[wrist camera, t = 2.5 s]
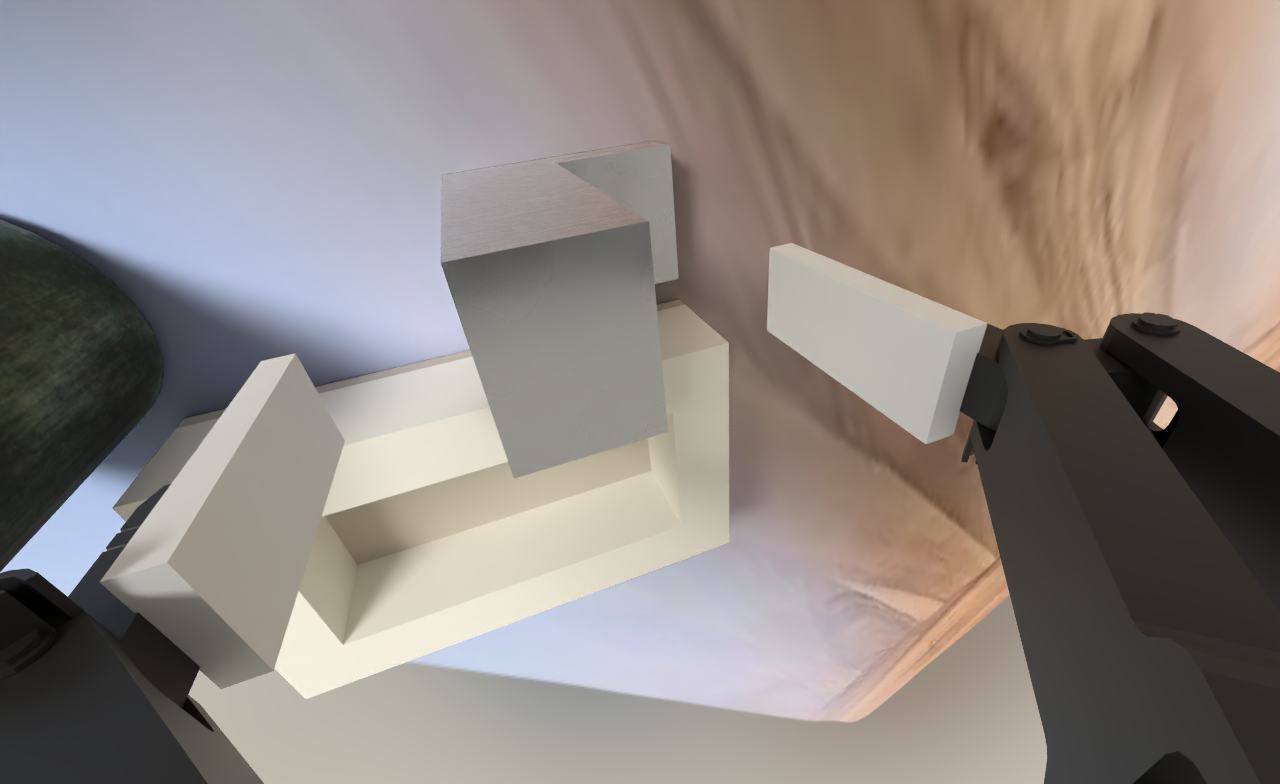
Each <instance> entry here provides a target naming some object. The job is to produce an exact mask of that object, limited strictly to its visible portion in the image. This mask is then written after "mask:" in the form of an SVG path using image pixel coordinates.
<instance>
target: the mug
mask: <svg viewBox="0 0 1280 784" xmlns="http://www.w3.org/2000/svg"><path fill="white" fill-rule="evenodd" d="M162 378H163V364H162V356H161V353H160V349H159V346H158V342H157V340H156V338H155V336H154V334H153V332H152V330H151V328H150V326H149V324H148V322H147V321H146V320H145V318H144V317H143V316H142V314H141V313H140V312H139V310H138V309H137V308H136V306H135V305H134V304H133V302H132V301H131V300H130V299H129V298H128V297H127V296H126V295H125V294H124V293H123V292H122V291H121V290H120V289H119V288H118V287H117V286H116V285H115V284H114V283H113V282H112V281H110V280H109V279H108V278H107V277H105V276H104V275H103V274H101V273H100V272H99V271H98V270H96V269H95V268H94V267H93V266H91V265H90V264H88V263H86V262H85V261H83V260H82V259H80V258H79V257H77V256H75V255H74V254H72V253H71V252H69V251H68V250H66V249H64V248H62V247H60V246H58V245H56V244H54V243H52V242H50V241H48V240H46V239H44V238H43V237H41V236H39V235H37V234H35V233H33V232H31V231H28V230H26V229H23V228H21V227H18V226H16V225H13V224H11V223H8V222H6V221H3V220H1V219H0V572H1V571H2V569H3V568H4V567H5V566H6V565H7V564H8V563H9V562H10V561H11V560H12V559H13V558H14V556H15V555H16V554H17V553H18V552H19V551H20V550H21V549H22V548H23V547H24V546H25V545H26V543H27V542H28V541H29V540H30V539H31V538H32V537H33V536H34V535H35V534H36V533H37V532H38V531H39V529H40V528H41V527H42V526H43V525H44V524H45V523H46V522H47V521H48V520H49V519H50V518H51V516H52V515H53V514H54V513H55V512H56V511H57V510H58V509H59V508H60V507H61V506H62V505H63V503H64V502H65V501H66V500H67V499H68V498H69V497H70V496H71V495H72V494H73V493H74V492H75V490H76V489H77V488H78V487H79V486H80V485H81V484H82V483H83V482H84V481H85V480H86V479H87V477H88V476H89V475H90V474H91V473H92V472H93V471H94V470H95V469H96V468H97V467H98V466H99V464H100V463H101V462H102V461H103V460H104V459H105V458H106V457H107V456H108V455H109V454H110V453H111V452H112V450H113V449H114V448H115V447H116V446H117V445H118V444H119V443H120V442H121V441H122V440H123V439H124V437H125V436H126V435H127V434H128V433H129V432H130V431H131V430H132V429H133V428H134V427H135V426H136V424H137V423H138V422H139V421H140V420H141V419H142V418H143V417H144V416H145V414H146V413H147V412H148V411H149V410H150V408H151V407H152V406H153V404H154V402H155V400H156V398H157V396H158V394H159V392H160V389H161V384H162Z"/></svg>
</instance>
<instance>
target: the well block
mask: <svg viewBox="0 0 1280 784" xmlns="http://www.w3.org/2000/svg"><path fill="white" fill-rule="evenodd" d="M657 315H658V326H659V337H660V348H661V359H662V370H663V381H664V392H665V403H666V414H667V425H668V432H666V433H663V434H660V435H656V436H653V437H650V438H647V439H643V440H640V441H637V442H633V443H630V444H627V445H624V446H620V447H617V448H614V449H610V450H607V451H604V452H600V453H597V454H594V455H591V456H587V457H584V458H581V459H577V460H574V461H571V462H568V463H564V464H561V465H558V466H554V467H551V468H548V469H545V470H541V471H538V472H535V473H531V474H528V475H525V476H522V477H518V478H515V479H514V477H513V474H512V471H511V468H510V466H509V463H508V460H507V457H506V454H505V451H504V448H503V445H502V442H501V439H500V436H499V433H498V430H497V427H496V424H495V421H494V418H493V415H492V412H491V409H490V406H489V403H488V401H487V398H486V395H485V392H484V389H483V386H482V383H481V380H480V377H479V374H478V371H477V368H476V365H475V362H474V359H473V356H472V353H471V350H467V351H463V352H458V353H454V354H450V355H446V356H442V357H438V358H434V359H429V360H425V361H421V362H417V363H413V364H409V365H404V366H400V367H396V368H392V369H388V370H384V371H379V372H375V373H371V374H367V375H363V376H359V377H355V378H350V379H346V380H342V381H338V382H334V383H330V384H325V385H321V386H317V387H315V388H316V390H317V392H318V394H319V396H320V397H321V399H322V401H323V403H324V404H325V406H326V408H327V410H328V412H329V413H330V415H331V417H332V419H333V421H334V422H335V424H336V426H337V428H338V429H339V431H340V433H341V435H342V437H343V438H344V440H345V443H344V446H343V449H342V452H341V456H340V459H339V462H338V465H337V468H336V472H335V475H334V478H333V481H332V485H331V488H330V491H329V494H328V497H327V501H326V504H325V507H324V510H323V514H322V517H321V520H320V523H319V526H318V530H317V533H316V536H315V539H314V543H313V546H312V549H311V552H310V555H309V559H308V562H307V565H306V568H305V572H304V575H303V578H302V581H301V584H300V588H299V591H298V594H297V597H296V601H295V604H294V607H293V610H292V613H291V617H290V620H289V623H288V626H287V630H286V633H285V636H284V639H283V642H282V646H281V649H280V652H279V655H278V659H277V662H276V665H275V669H276V670H277V671H278V672H279V673H280V674H281V675H282V676H283V677H284V678H285V679H286V680H287V681H288V682H289V683H290V684H291V685H292V686H293V687H294V688H295V689H296V690H297V691H298V692H299V693H300V694H301V695H302V696H303V697H304V698H305V699H308V698H310V697H313V696H316V695H318V694H321V693H324V692H327V691H329V690H332V689H335V688H337V687H340V686H343V685H346V684H348V683H351V682H354V681H356V680H359V679H362V678H365V677H367V676H370V675H372V674H375V673H378V672H381V671H383V670H386V669H388V668H392V667H394V666H397V665H400V664H402V663H405V662H408V661H411V660H413V659H416V658H419V657H421V656H424V655H427V654H430V653H432V652H435V651H438V650H440V649H443V648H446V647H448V646H451V645H454V644H457V643H459V642H462V641H465V640H467V639H470V638H473V637H476V636H478V635H481V634H484V633H486V632H489V631H492V630H495V629H497V628H500V627H503V626H505V625H508V624H511V623H513V622H516V621H519V620H522V619H524V618H527V617H530V616H532V615H535V614H538V613H541V612H543V611H546V610H549V609H551V608H554V607H557V606H560V605H562V604H565V603H568V602H570V601H573V600H576V599H578V598H581V597H584V596H587V595H589V594H592V593H595V592H597V591H600V590H603V589H606V588H608V587H611V586H614V585H616V584H619V583H622V582H625V581H627V580H630V579H633V578H635V577H638V576H641V575H644V574H646V573H649V572H652V571H654V570H657V569H660V568H662V567H665V566H668V565H671V564H673V563H676V562H679V561H681V560H684V559H687V558H690V557H692V556H695V555H698V554H700V553H703V552H706V551H709V550H711V549H714V548H717V547H719V546H722V545H725V544H727V543H729V342H728V341H726V340H725V339H724V338H723V337H722V336H721V335H720V334H718V333H717V332H716V331H715V330H714V329H713V328H712V327H710V326H709V325H708V324H707V323H706V322H705V321H703V320H702V319H701V318H700V317H699V316H698V315H697V314H695V313H694V312H693V311H692V310H691V309H690V308H689V307H687V306H686V305H685V304H684V303H683V302H682V301H681V300H675V301H671V302H666V303H662V304H658V305H657ZM225 410H226V409H221V410H217V411H213V412H209V413H205V414H201V415H197V416H192V417H188V418H184V419H183V420H182V421H181V423H180V424H179V425H178V426H177V428H176V429H175V430H174V431H173V433H172V434H171V435H170V436H169V438H168V439H167V440H166V441H165V443H164V444H163V445H162V446H161V448H160V449H159V450H158V451H157V453H156V454H155V455H154V456H153V458H152V459H151V460H150V461H149V463H148V464H147V465H146V466H145V468H144V469H143V470H142V472H141V473H140V474H139V475H138V477H137V478H136V479H135V480H134V482H133V483H132V484H131V485H130V487H129V488H128V489H127V490H126V492H125V493H124V494H123V495H122V497H121V498H120V499H119V500H118V502H117V503H116V504H115V505H114V507H113V509H114V510H115V511H116V512H117V513H118V514H119V515H120V516H121V517H122V518H123V519H124V520H125V521H127V520H128V519H129V517H130V516H131V515H132V514H133V512H134V511H135V510H136V508H137V507H138V506H140V505H141V504H142V503H143V502H145V501H146V500H147V499H148V498H150V497H151V496H152V495H153V494H154V493H156V492H157V491H158V490H159V489H161V488H162V487H163V486H164V485H168V484H172V482H173V481H174V480H175V478H176V477H177V475H178V474H179V473H180V471H181V470H182V469H183V467H184V466H185V465H186V463H187V462H188V460H189V459H190V458H191V456H192V455H193V454H194V452H195V451H196V449H197V448H198V447H199V445H200V444H201V443H202V441H203V440H204V439H205V437H206V436H207V434H208V433H209V432H210V430H211V429H212V428H213V426H214V425H215V423H216V422H217V421H218V419H219V418H220V417H221V415H222V414H223V413H224V411H225Z"/></svg>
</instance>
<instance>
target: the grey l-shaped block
mask: <svg viewBox="0 0 1280 784" xmlns="http://www.w3.org/2000/svg"><path fill="white" fill-rule="evenodd" d="M441 265H442V268H443V271H444V274H445V276H446V279H447V282H448V285H449V288H450V291H451V294H452V297H453V300H454V303H455V306H456V309H457V312H458V315H459V318H460V321H461V324H462V327H463V330H464V333H465V336H466V338H467V341H468V344H469V347H470V350H471V353H472V356H473V359H474V362H475V365H476V368H477V371H478V374H479V377H480V380H481V383H482V386H483V389H484V392H485V395H486V398H487V401H488V403H489V406H490V409H491V412H492V415H493V418H494V421H495V424H496V427H497V430H498V433H499V436H500V439H501V442H502V445H503V448H504V451H505V454H506V457H507V460H508V463H509V466H510V468H511V471H512V474H513V477H514V479H515V478H518V477H522V476H525V475H528V474H531V473H535V472H538V471H541V470H545V469H548V468H551V467H554V466H558V465H561V464H564V463H568V462H571V461H574V460H577V459H581V458H584V457H587V456H591V455H594V454H597V453H600V452H604V451H607V450H610V449H614V448H617V447H620V446H624V445H627V444H630V443H633V442H637V441H640V440H643V439H647V438H650V437H653V436H656V435H660V434H663V433H666V432H668V425H667V414H666V403H665V392H664V381H663V370H662V359H661V348H660V337H659V326H658V315H657V304H656V293H655V284H658V283H662V282H667V281H671V280H675V279H679V277H678V261H677V244H676V228H675V212H674V196H673V180H672V163H671V147H670V144H666V143H661V142H657V141H650V142H644V143H638V144H631V145H625V146H619V147H613V148H606V149H600V150H594V151H588V152H581V153H575V154H569V155H563V156H557V157H550V158H544V159H538V160H532V161H525V162H519V163H513V164H507V165H501V166H494V167H488V168H482V169H476V170H469V171H463V172H457V173H451V174H445V175H442V201H441Z"/></svg>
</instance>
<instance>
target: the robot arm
mask: <svg viewBox="0 0 1280 784" xmlns="http://www.w3.org/2000/svg"><path fill="white" fill-rule="evenodd" d="M767 331H769V332H770V333H771V334H773V335H774V336H776V337H777V338H778V339H780V340H781V341H783V342H784V343H785V344H787V345H788V346H789V347H791V348H792V349H794V350H795V351H796V352H798V353H799V354H801V355H802V356H803V357H805V358H806V359H808V360H809V361H810V362H812V363H813V364H814V365H816V366H817V367H819V368H820V369H821V370H823V371H824V372H826V373H827V374H828V375H830V376H831V377H833V378H834V379H835V380H837V381H838V382H840V383H841V384H842V385H844V386H845V387H846V388H848V389H849V390H851V391H852V392H853V393H855V394H856V395H858V396H859V397H860V398H862V399H863V400H865V401H866V402H867V403H869V404H870V405H872V406H873V407H874V408H876V409H877V410H878V411H880V412H881V413H883V414H884V415H885V416H887V417H888V418H890V419H891V420H892V421H894V422H895V423H897V424H898V425H899V426H901V427H902V428H904V429H905V430H906V431H908V432H909V433H910V434H912V435H913V436H915V437H916V438H917V439H919V440H920V441H922V442H923V443H924V444H928V443H931V442H934V441H937V440H940V439H943V438H946V437H949V436H952V435H954V431H955V428H956V425H957V422H958V418H959V415H960V412H962V413H964V414H966V415H967V416H969V417H971V418H972V419H974V422H973V425H972V428H971V431H970V434H969V437H968V440H967V443H966V446H965V449H964V452H963V455H962V461H961V462H968V459H969V456H970V455H972V454H974V453H975V457H976V464H977V465H978V469H979V473H980V477H981V481H982V485H983V489H984V493H985V497H986V501H987V505H988V509H989V513H990V517H991V521H992V525H993V529H994V533H995V537H996V541H997V545H998V549H999V553H1000V557H1001V561H1002V565H1003V569H1004V573H1005V577H1006V581H1007V585H1008V589H1009V593H1010V597H1011V601H1012V604H1013V608H1014V613H1015V617H1016V621H1017V625H1018V629H1019V633H1020V637H1021V641H1022V645H1023V649H1024V653H1025V657H1026V661H1027V665H1028V669H1029V673H1030V677H1031V681H1032V685H1033V689H1034V693H1035V697H1036V701H1037V705H1038V709H1039V713H1040V717H1041V721H1042V725H1043V729H1044V733H1045V738H1046V744H1047V765H1046V773H1045V780H1044V784H1280V373H1279V372H1277V371H1276V370H1274V369H1272V368H1270V367H1268V366H1266V365H1265V364H1263V363H1261V362H1259V361H1257V360H1255V359H1254V358H1252V357H1250V356H1248V355H1246V354H1244V353H1243V352H1241V351H1239V350H1237V349H1235V348H1233V347H1232V346H1230V345H1228V344H1226V343H1224V342H1222V341H1221V340H1219V339H1217V338H1215V337H1213V336H1211V335H1210V334H1208V333H1206V332H1204V331H1202V330H1200V329H1199V328H1197V327H1195V326H1193V325H1190V324H1188V323H1185V322H1183V321H1180V320H1177V319H1173V318H1171V317H1169V316H1167V315H1162V314H1155V313H1143V314H1133V313H1131V314H1123V315H1118V316H1116V317H1114V318H1112V319H1111V321H1110V323H1109V326H1108V328H1107V330H1106V332H1105V334H1104V337H1103V338H1100V339H1088V340H1083V339H1082V338H1081V337H1080V336H1078V335H1077V334H1076V333H1074V332H1072V331H1070V330H1066V329H1064V328H1060V327H1056V326H1052V325H1046V324H1037V323H1020V324H1015V325H1011V326H1009V327H1007V328H1006V329H1004V330H1002V329H999V328H997V327H994V326H992V325H990V324H988V323H985V322H983V321H980V320H978V319H976V318H973V317H971V316H968V315H966V314H963V313H961V312H959V311H956V310H954V309H951V308H949V307H946V306H944V305H942V304H939V303H937V302H934V301H932V300H929V299H927V298H925V297H922V296H920V295H917V294H915V293H912V292H910V291H908V290H905V289H903V288H900V287H898V286H895V285H893V284H890V283H888V282H886V281H883V280H881V279H878V278H876V277H873V276H871V275H869V274H866V273H864V272H861V271H859V270H856V269H854V268H852V267H849V266H847V265H844V264H842V263H839V262H837V261H835V260H832V259H830V258H827V257H825V256H822V255H820V254H817V253H815V252H813V251H810V250H808V249H805V248H803V247H800V246H798V245H796V244H793V243H790V244H785V245H781V246H776V247H772V248H770V258H769V285H768V312H767ZM1167 396H1169V397H1171V398H1172V400H1173V401H1174V402H1175V403H1176V405H1177V407H1178V410H1177V412H1176V414H1175V415H1174V417H1173V419H1172V420H1171V422H1170V424H1169V425H1168V426H1167V427H1166V428H1165V429H1162V428H1160V427H1159V426H1158V425H1156V424H1155V423H1154V422H1153V420H1154V418H1155V417H1156V415H1157V413H1158V411H1159V410H1160V408H1161V406H1162V405H1163V403H1164V401H1165V399H1166V398H1167ZM344 443H345V440H344V438H343V437H342V435H341V433H340V431H339V429H338V428H337V426H336V424H335V422H334V421H333V419H332V417H331V415H330V413H329V412H328V410H327V408H326V406H325V404H324V403H323V401H322V399H321V397H320V396H319V394H318V392H317V390H316V388H315V387H314V385H313V383H312V381H311V379H310V378H309V376H308V374H307V372H306V371H305V369H304V367H303V365H302V363H301V362H300V360H299V358H298V356H297V354H296V353H295V354H290V355H286V356H281V357H277V358H272V359H268V360H263V361H261V362H260V363H259V365H258V366H257V367H256V369H255V370H254V371H253V373H252V374H251V376H250V377H249V378H248V380H247V381H246V382H245V384H244V385H243V387H242V388H241V389H240V391H239V392H238V393H237V395H236V396H235V397H234V399H233V400H232V402H231V403H230V404H229V406H228V407H227V408H226V410H225V411H224V413H223V414H222V415H221V417H220V418H219V419H218V421H217V422H216V423H215V425H214V426H213V428H212V429H211V430H210V432H209V433H208V434H207V436H206V437H205V439H204V440H203V441H202V443H201V444H200V445H199V447H198V448H197V449H196V451H195V452H194V454H193V455H192V456H191V458H190V459H189V460H188V462H187V463H186V465H185V466H184V467H183V469H182V470H181V471H180V473H179V474H178V475H177V477H176V478H175V480H174V481H173V482H172V484H168V485H164V486H163V487H162V488H161V489H159V490H158V491H157V492H156V493H154V494H153V495H152V496H151V497H150V498H148V499H147V500H146V501H145V502H143V503H142V504H141V505H140V506H138V507H137V508H136V510H135V511H134V512H133V514H132V515H131V516H130V517H129V519H128V520H127V521H126V523H125V524H124V525H123V527H122V528H121V529H120V530H121V533H118V534H116V536H115V537H114V538H113V539H112V541H111V542H110V543H109V545H108V546H107V547H106V549H107V551H106V552H103V553H102V554H101V555H100V556H99V558H98V559H97V560H96V561H95V563H94V564H93V565H92V567H91V568H90V569H89V571H88V572H87V573H86V574H85V576H84V577H83V578H82V580H81V581H80V582H79V583H78V585H77V586H76V587H75V589H74V590H73V591H72V593H71V594H70V595H69V596H68V597H67V596H66V595H65V594H63V593H62V592H61V591H60V590H58V589H57V588H56V587H55V586H53V585H52V584H51V583H50V582H49V581H47V580H46V579H45V578H44V577H42V576H41V575H40V574H39V573H37V572H35V571H32V570H30V569H20V570H11V571H6V572H3V573H0V784H264V783H263V782H262V781H261V779H260V778H259V777H258V776H257V774H256V773H255V772H254V771H253V769H252V768H251V767H250V766H249V764H248V763H247V762H246V761H245V759H244V758H243V757H242V756H241V754H240V753H239V752H238V751H237V749H236V748H235V747H234V746H233V745H232V743H231V742H230V741H229V740H228V739H227V737H226V736H225V735H224V733H223V732H222V731H221V730H220V728H219V727H218V726H217V725H216V723H215V722H214V721H213V720H212V718H211V717H210V716H209V715H208V713H207V712H206V711H205V710H204V709H203V707H202V706H201V705H200V704H199V703H197V702H196V701H195V700H194V699H192V698H191V697H190V696H189V695H188V694H189V691H190V689H191V687H192V685H193V682H194V680H195V678H196V676H197V673H198V671H199V670H200V671H201V672H203V673H204V674H205V675H206V676H207V677H208V678H209V679H210V680H212V681H213V682H214V683H215V684H216V685H217V686H218V687H220V688H221V689H222V688H225V687H228V686H231V685H234V684H237V683H239V682H243V681H245V680H248V679H251V678H254V677H257V676H260V675H263V674H266V673H268V672H271V671H274V668H275V665H276V662H277V659H278V655H279V652H280V649H281V646H282V642H283V639H284V636H285V633H286V630H287V626H288V623H289V620H290V617H291V613H292V610H293V607H294V604H295V601H296V597H297V594H298V591H299V588H300V584H301V581H302V578H303V575H304V572H305V568H306V565H307V562H308V559H309V555H310V552H311V549H312V546H313V543H314V539H315V536H316V533H317V530H318V526H319V523H320V520H321V517H322V514H323V510H324V507H325V504H326V501H327V497H328V494H329V491H330V488H331V485H332V481H333V478H334V475H335V472H336V468H337V465H338V462H339V459H340V456H341V452H342V449H343V446H344Z"/></svg>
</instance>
